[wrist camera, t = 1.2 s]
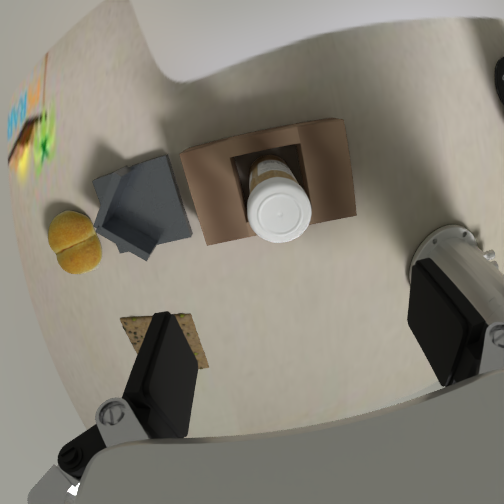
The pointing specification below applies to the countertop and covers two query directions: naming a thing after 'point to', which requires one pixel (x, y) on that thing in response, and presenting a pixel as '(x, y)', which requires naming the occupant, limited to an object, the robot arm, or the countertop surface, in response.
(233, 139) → the wooden block with hole
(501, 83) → the milk frother
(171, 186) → the v block
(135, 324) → the cookie
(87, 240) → the bread roll
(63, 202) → the countertop surface
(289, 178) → the sprinkles bottle
